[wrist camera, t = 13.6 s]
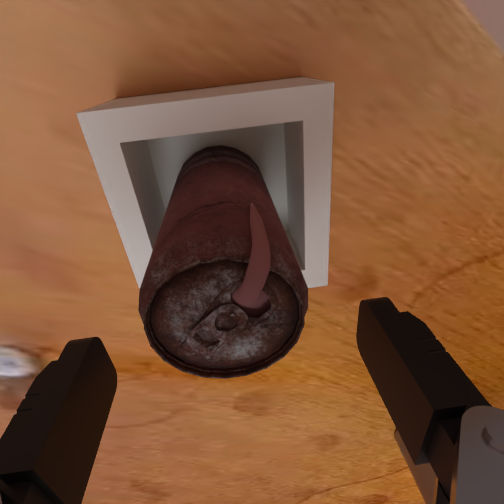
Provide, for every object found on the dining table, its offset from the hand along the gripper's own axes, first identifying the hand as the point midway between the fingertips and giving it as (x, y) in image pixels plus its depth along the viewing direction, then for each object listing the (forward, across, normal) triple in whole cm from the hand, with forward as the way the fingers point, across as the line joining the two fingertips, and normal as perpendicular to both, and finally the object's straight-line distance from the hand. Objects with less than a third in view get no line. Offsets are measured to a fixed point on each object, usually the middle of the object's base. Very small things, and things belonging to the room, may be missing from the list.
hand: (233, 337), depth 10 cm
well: (+16, 0, 0) cm, 16 cm away
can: (+15, 0, 0) cm, 15 cm away
